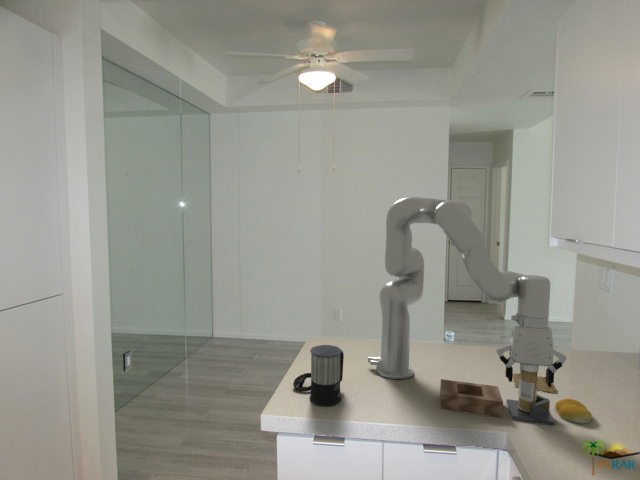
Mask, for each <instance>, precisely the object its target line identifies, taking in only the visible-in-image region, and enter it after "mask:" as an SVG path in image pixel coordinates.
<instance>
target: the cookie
mask: <svg viewBox="0 0 640 480" xmlns="http://www.w3.org/2000/svg"><path fill="white" fill-rule="evenodd" d="M519 380H520V373H516V372H515V373H513V375H512V381H513V384H514V383H515V384H514V388H515V389H519ZM539 391H542V392H541V393H546V392H547V393H546V394H554V395H558V391H557V389H556V386H555V385H554V383H552V385H551V387H549V386H548V385H547V383H546V376H539V375H537V392H539Z"/></svg>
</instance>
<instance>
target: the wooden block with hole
mask: <svg viewBox="0 0 640 480" xmlns="http://www.w3.org/2000/svg"><path fill="white" fill-rule="evenodd" d="M439 388H440V392H439V395H440V397H439V399H440V400H439V401H440V402H439V403H440V405H439V406H440V407H439V408H440V410H443V411H451V412H458V413H465V414H472V415H478V416H485V417H486V416H487V417H493V418H498V417H499V419H502V418H503V414H504V413H503V410H504V401H503V397H502V394H501V392H500V391H501V390H500V388H499V386H497V385H489V384H483V383H482V384H480V383H473V382H465V381H459V380H450V379H442V378H441V379H440V387H439Z"/></svg>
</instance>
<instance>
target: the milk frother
mask: <svg viewBox="0 0 640 480" xmlns="http://www.w3.org/2000/svg"><path fill="white" fill-rule="evenodd" d="M309 352H310V355H311V357H310V358H311V360H310V361H311V362H310V364H311V365H310V369H311V370H310V372H306V373H303V374H300V375H298V376H297V377H296V378H294V380H293V384H292V385H293V387H294V389H295V390H297V391H298V392H303V393H304V392H309V391H310V396H309V400H310V402H311V403H312V404H314V405H317V406H321V407H331V406H335V405H337V404H339V403H340V402H341V400H342V397H341V382H343V375H344V374H343V371H344V370H343V369H344V351H343V350H342V349H341V348H340V347H338V346H337V345H335V346H334V345H332V344H331V345H330V344H322V345H321V344H320V345H316V346H313V347H312V348H310V351H309ZM309 378H310V385H309V386H306V387H304V385H305V382H306V380H307V379H309Z"/></svg>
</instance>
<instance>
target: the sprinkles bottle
mask: <svg viewBox="0 0 640 480" xmlns="http://www.w3.org/2000/svg"><path fill="white" fill-rule="evenodd" d="M539 367H540V366H539V365H530V364H521V363H519V369H520V371H519V374H520V380H519V388H518V401H519V402H518V408H519V409H520V410H521V411H524V412H527V413H530V405H531V404H534V403H536V397H537V395H538V391H537V376H538V373H539V370H540V369H539Z"/></svg>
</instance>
